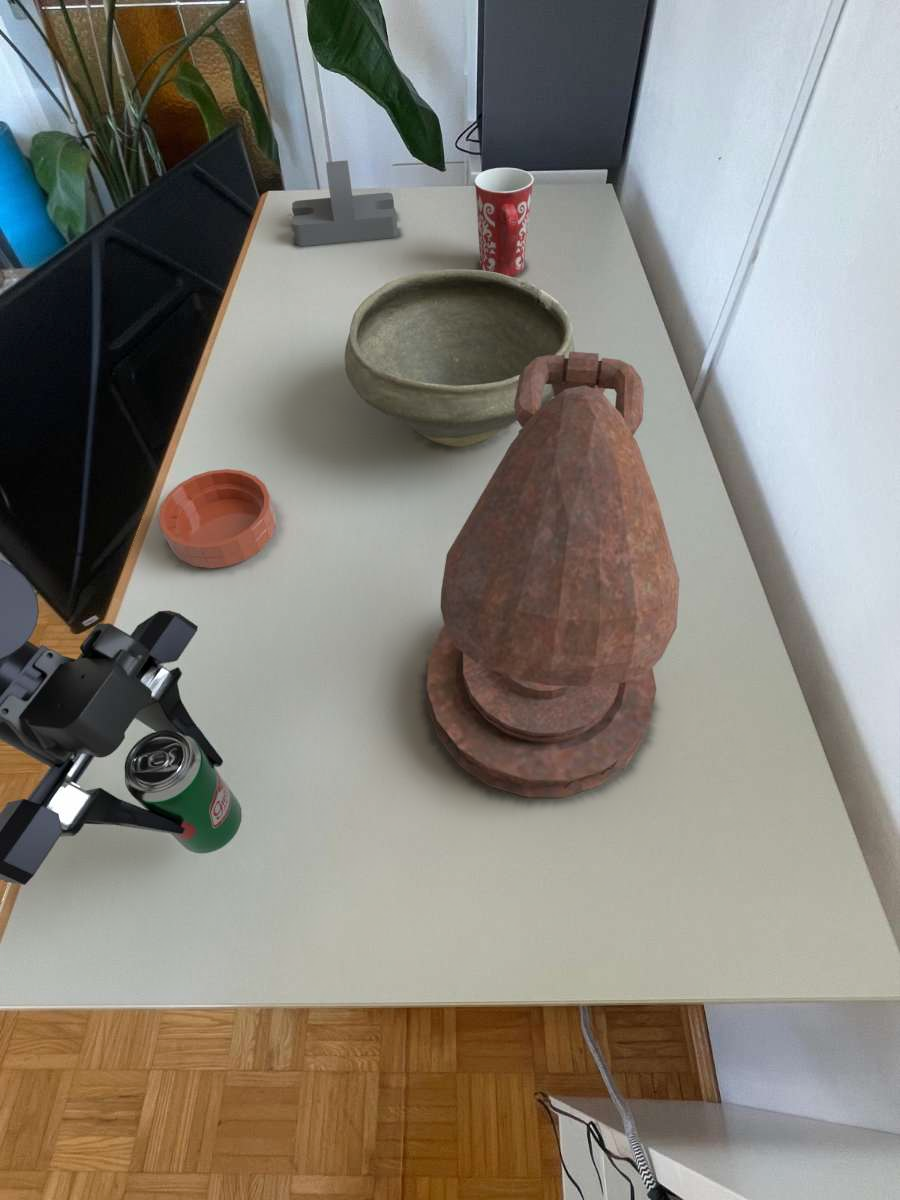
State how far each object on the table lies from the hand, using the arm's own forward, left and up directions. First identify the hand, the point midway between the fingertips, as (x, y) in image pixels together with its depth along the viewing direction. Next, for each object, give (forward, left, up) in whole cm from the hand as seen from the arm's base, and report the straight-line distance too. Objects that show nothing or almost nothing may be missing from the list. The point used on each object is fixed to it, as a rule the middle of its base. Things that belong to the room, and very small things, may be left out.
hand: (201, 797), depth 49 cm
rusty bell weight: (+27, +10, -12) cm, 31 cm away
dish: (-4, +38, -12) cm, 40 cm away
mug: (+38, +90, -12) cm, 98 cm away
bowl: (+26, +54, -12) cm, 61 cm away
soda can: (-1, +1, -7) cm, 7 cm away
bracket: (+13, +110, -12) cm, 111 cm away
